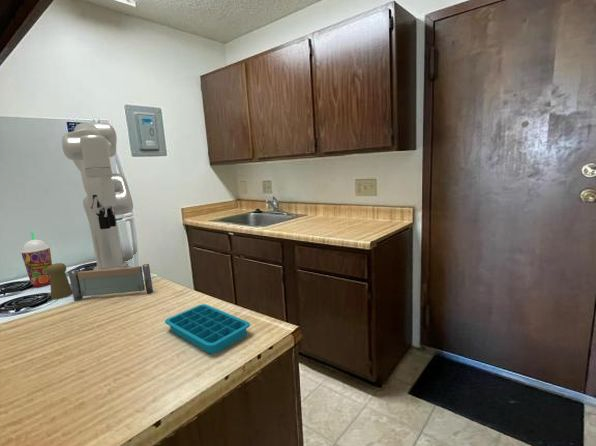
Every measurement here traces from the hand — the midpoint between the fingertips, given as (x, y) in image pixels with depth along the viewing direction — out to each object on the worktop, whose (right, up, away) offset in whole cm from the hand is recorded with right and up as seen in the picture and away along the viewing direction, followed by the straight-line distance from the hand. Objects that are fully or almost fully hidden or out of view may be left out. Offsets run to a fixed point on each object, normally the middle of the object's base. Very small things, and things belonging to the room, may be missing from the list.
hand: (108, 227), depth 109 cm
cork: (-14, -23, -2) cm, 27 cm away
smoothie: (-30, -22, +10) cm, 39 cm away
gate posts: (+5, -22, -6) cm, 24 cm away
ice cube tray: (+43, -26, -32) cm, 60 cm away
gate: (+5, -21, -6) cm, 23 cm away
